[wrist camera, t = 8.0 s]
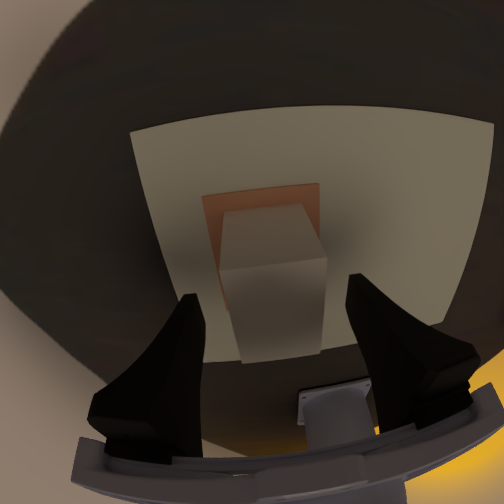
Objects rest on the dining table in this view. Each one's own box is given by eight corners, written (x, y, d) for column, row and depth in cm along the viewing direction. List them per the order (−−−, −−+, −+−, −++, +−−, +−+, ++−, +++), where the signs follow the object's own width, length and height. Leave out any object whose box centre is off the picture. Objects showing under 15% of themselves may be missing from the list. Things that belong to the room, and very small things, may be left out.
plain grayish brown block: (301, 202, 14) (327, 257, 10) (303, 290, 18) (320, 353, 14) (224, 211, 14) (218, 270, 10) (240, 298, 18) (242, 363, 14)
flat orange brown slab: (316, 298, 18) (317, 300, 18) (226, 309, 19) (226, 311, 18) (318, 182, 14) (319, 184, 14) (201, 195, 14) (201, 197, 14)
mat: (440, 319, 22) (442, 321, 21) (203, 359, 22) (203, 362, 22) (491, 123, 12) (494, 124, 12) (131, 132, 12) (129, 132, 12)
